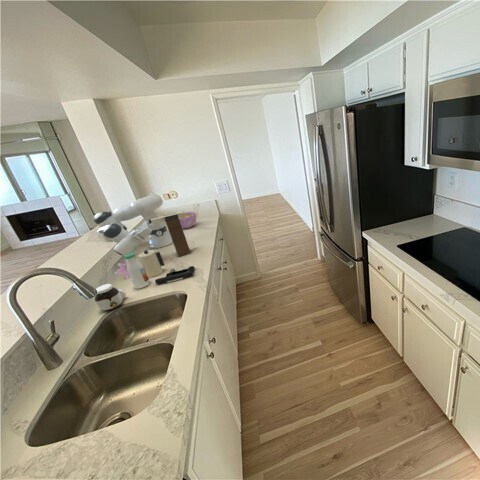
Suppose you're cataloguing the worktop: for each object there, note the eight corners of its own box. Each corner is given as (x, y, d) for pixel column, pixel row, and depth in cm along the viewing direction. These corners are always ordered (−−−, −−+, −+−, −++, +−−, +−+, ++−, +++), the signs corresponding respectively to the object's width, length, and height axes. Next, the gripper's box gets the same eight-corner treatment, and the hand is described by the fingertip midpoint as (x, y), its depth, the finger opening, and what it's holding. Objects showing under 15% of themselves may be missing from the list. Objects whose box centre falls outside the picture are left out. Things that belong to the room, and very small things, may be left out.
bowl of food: (176, 232, 236) (172, 220, 231) (176, 227, 252) (172, 215, 248) (200, 226, 244) (196, 215, 240) (198, 221, 261) (194, 210, 256)
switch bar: (149, 223, 175) (148, 219, 174) (185, 215, 186) (183, 210, 185) (150, 225, 173) (148, 220, 172) (186, 216, 184) (184, 211, 183)
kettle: (142, 280, 158) (132, 257, 152) (141, 274, 166) (131, 252, 159) (166, 272, 165) (158, 249, 159) (165, 267, 172) (156, 245, 166)
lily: (115, 282, 162) (113, 272, 156) (118, 268, 170) (117, 257, 164) (138, 281, 168) (137, 271, 162) (141, 267, 175) (140, 257, 170)
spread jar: (100, 314, 130) (89, 295, 125) (101, 304, 138) (91, 285, 134) (129, 304, 136) (119, 284, 131) (128, 294, 144) (119, 276, 140)
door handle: (160, 270, 163) (153, 281, 148) (194, 262, 168) (191, 272, 153) (162, 275, 164) (155, 286, 149) (196, 267, 169) (193, 277, 154)
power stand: (176, 252, 193) (163, 215, 181) (188, 249, 197) (175, 212, 185) (178, 257, 185) (164, 218, 174) (190, 253, 189) (177, 215, 178)
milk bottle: (143, 289, 148) (129, 257, 140) (131, 288, 150) (117, 257, 142) (153, 281, 155) (140, 251, 147) (142, 281, 157) (129, 251, 149)
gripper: (141, 234, 182) (157, 220, 185) (142, 242, 166) (160, 226, 169) (133, 228, 178) (149, 213, 181) (133, 236, 162) (151, 220, 165)
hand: (154, 220), depth 175 cm, fingers open, 6 cm apart
